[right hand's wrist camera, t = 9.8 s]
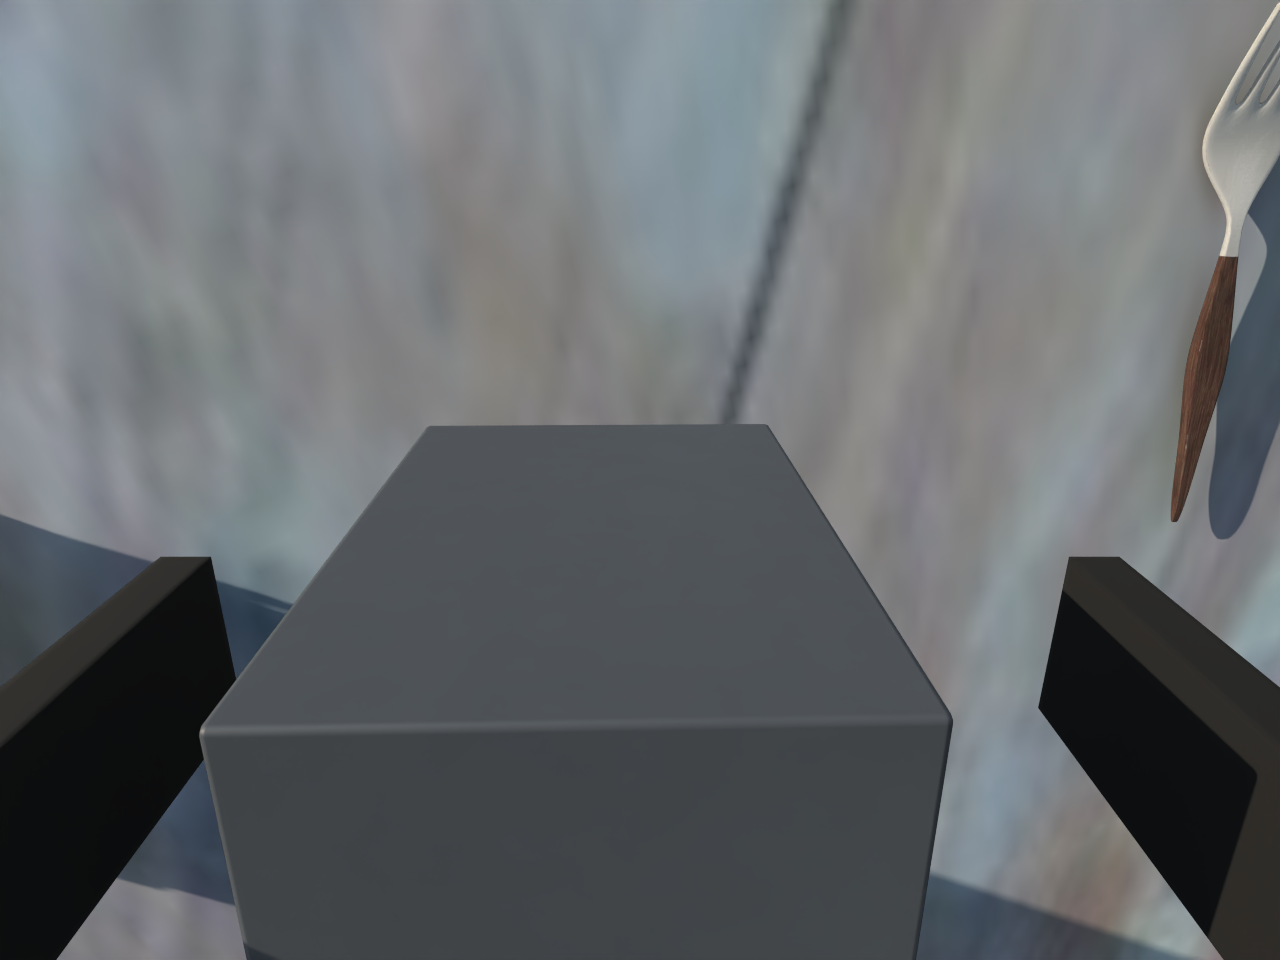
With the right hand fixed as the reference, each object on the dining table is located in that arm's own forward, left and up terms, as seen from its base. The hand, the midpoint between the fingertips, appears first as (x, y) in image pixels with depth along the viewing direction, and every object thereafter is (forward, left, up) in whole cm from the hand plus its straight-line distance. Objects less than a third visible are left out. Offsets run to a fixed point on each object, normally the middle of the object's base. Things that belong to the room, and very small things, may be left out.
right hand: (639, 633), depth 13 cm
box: (+4, +10, -3) cm, 11 cm away
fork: (-19, +2, -16) cm, 25 cm away
